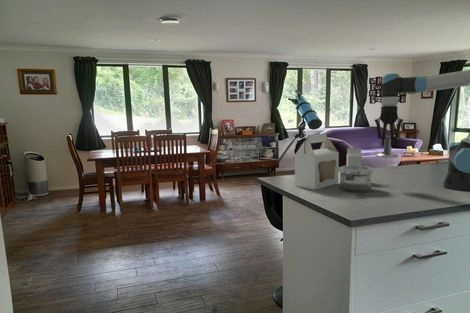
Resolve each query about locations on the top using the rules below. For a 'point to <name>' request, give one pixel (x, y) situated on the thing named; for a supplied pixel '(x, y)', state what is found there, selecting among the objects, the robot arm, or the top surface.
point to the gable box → (316, 163)
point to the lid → (387, 150)
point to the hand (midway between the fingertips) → (387, 152)
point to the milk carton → (354, 156)
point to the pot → (355, 178)
